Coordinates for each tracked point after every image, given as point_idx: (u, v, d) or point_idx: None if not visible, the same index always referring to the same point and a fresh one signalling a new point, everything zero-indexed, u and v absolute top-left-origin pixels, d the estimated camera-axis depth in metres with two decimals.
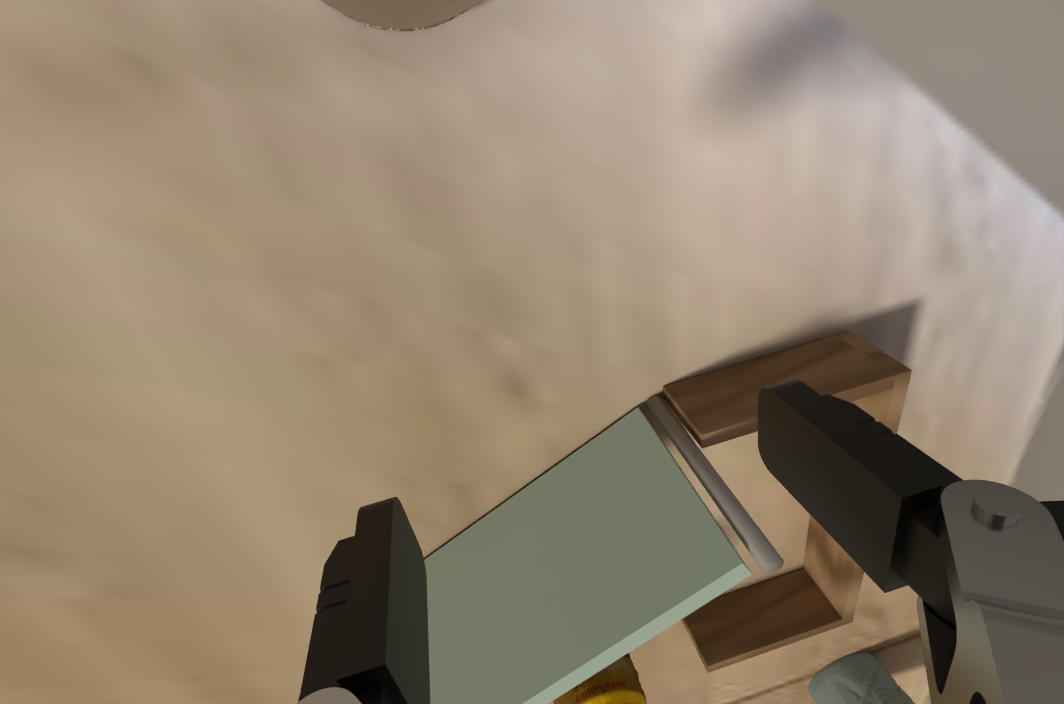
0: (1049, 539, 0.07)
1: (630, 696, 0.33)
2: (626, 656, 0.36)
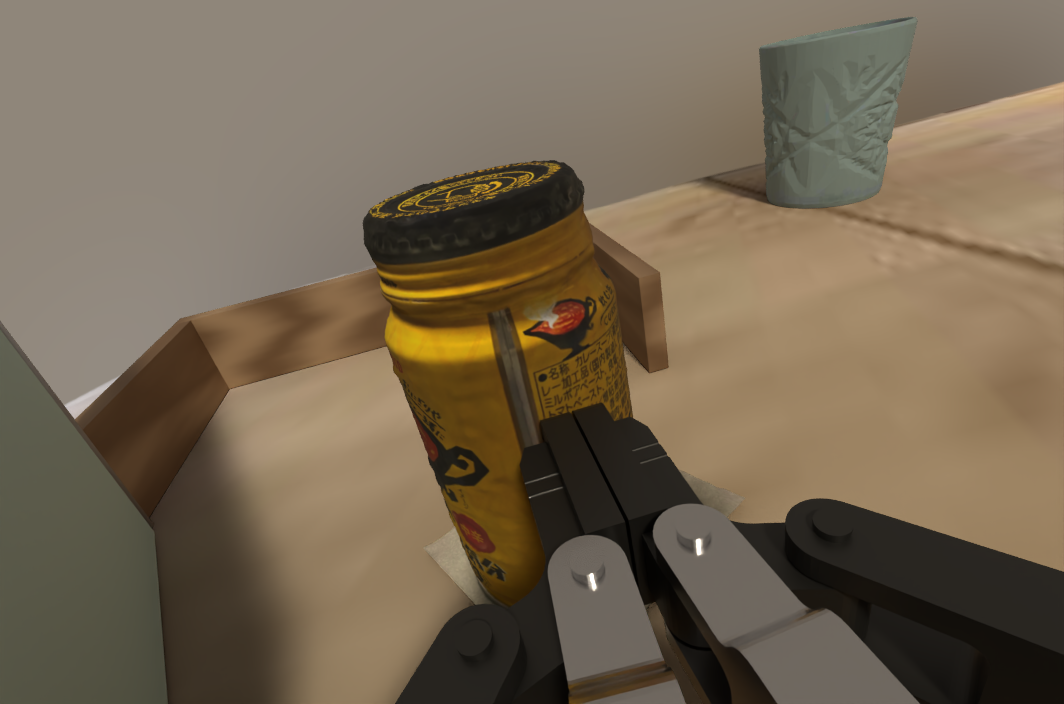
0: (721, 561, 0.07)
1: None
2: None
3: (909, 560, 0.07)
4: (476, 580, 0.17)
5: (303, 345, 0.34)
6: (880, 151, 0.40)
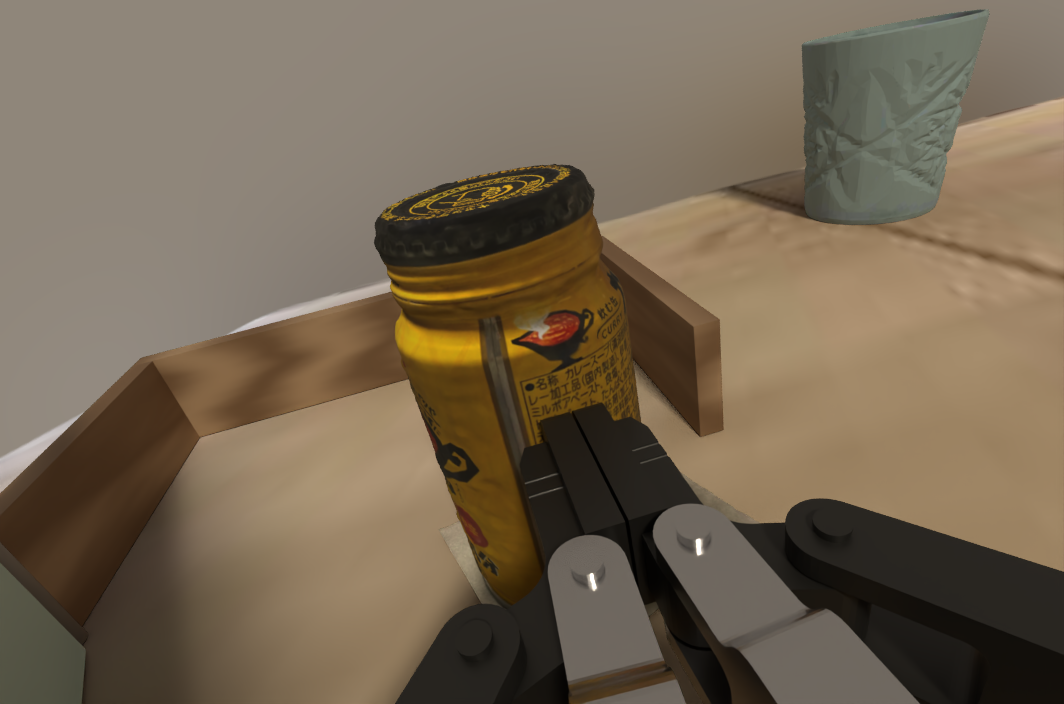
0: (721, 561, 0.07)
1: None
2: None
3: (909, 560, 0.07)
4: None
5: (286, 387, 0.29)
6: (940, 161, 0.35)
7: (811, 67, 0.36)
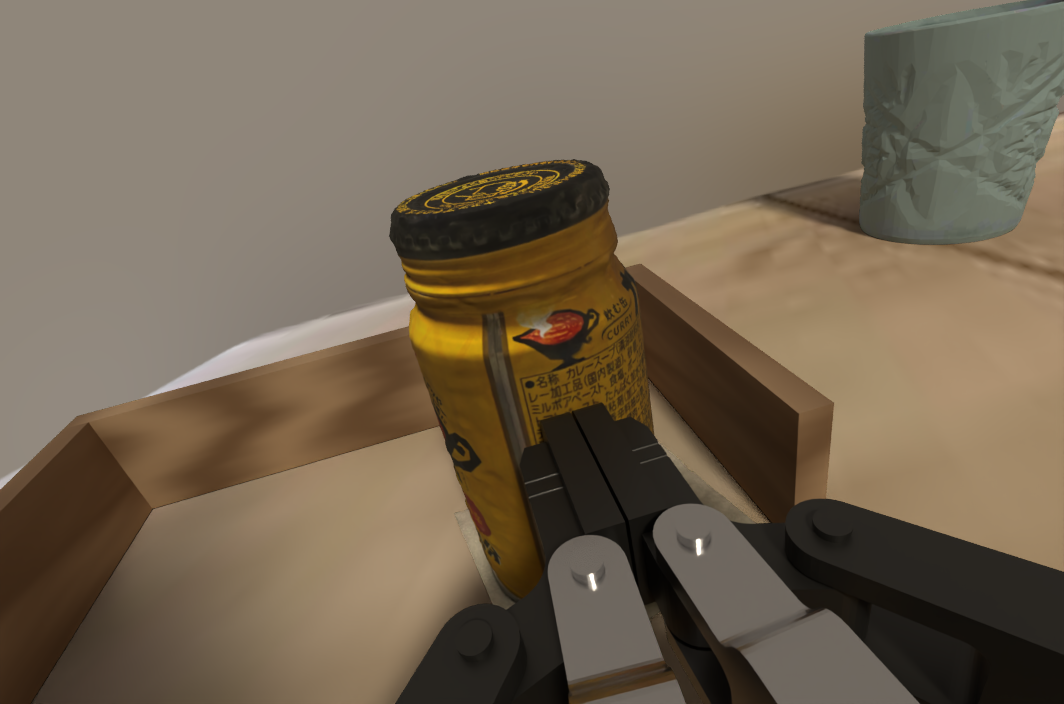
0: (721, 561, 0.07)
1: None
2: None
3: (909, 560, 0.07)
4: None
5: (257, 448, 0.24)
6: (1031, 172, 0.30)
7: (878, 61, 0.30)
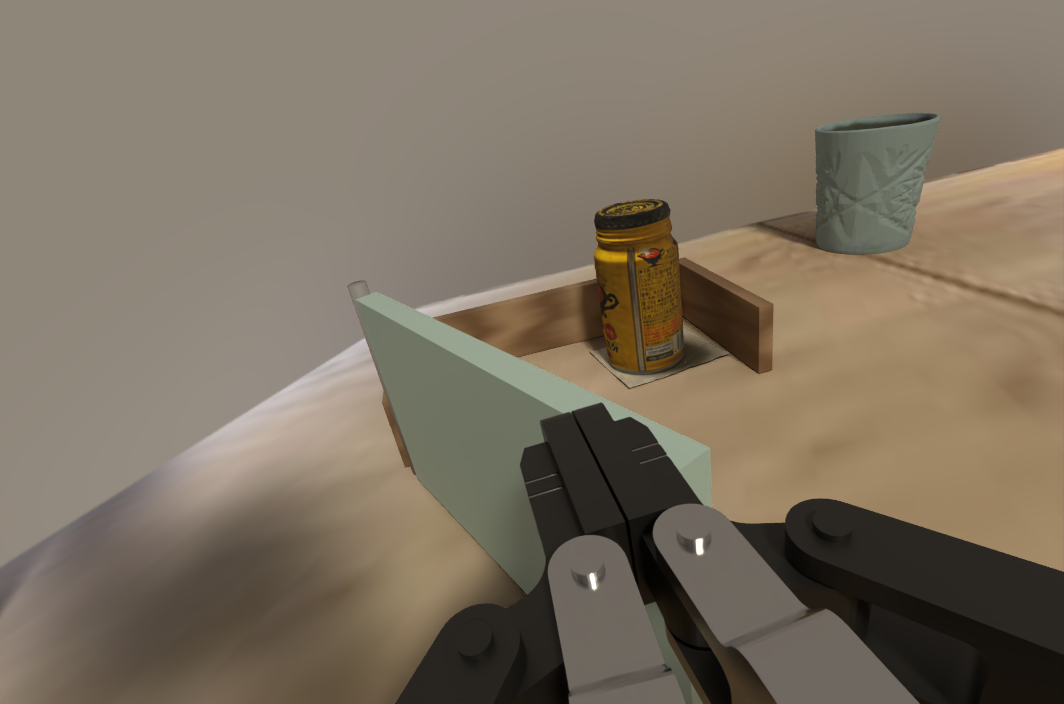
0: (721, 561, 0.07)
1: None
2: None
3: (909, 560, 0.07)
4: (608, 362, 0.42)
5: None
6: (910, 212, 0.51)
7: (822, 146, 0.52)
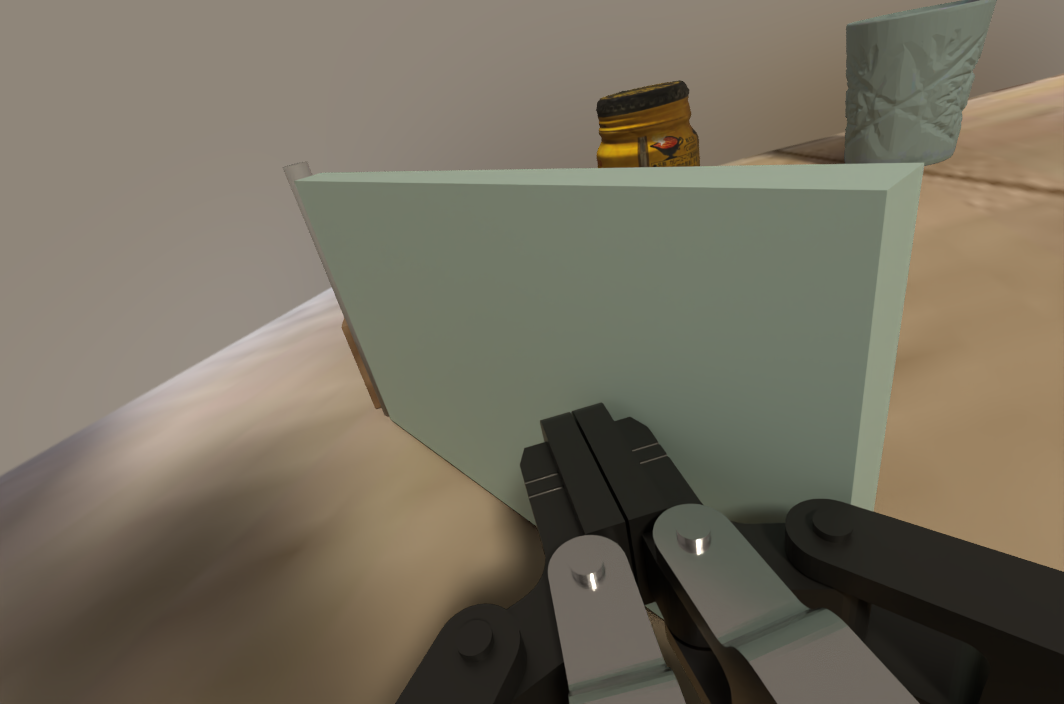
0: (721, 561, 0.07)
1: None
2: None
3: (909, 560, 0.07)
4: None
5: None
6: (957, 117, 0.44)
7: (855, 43, 0.45)
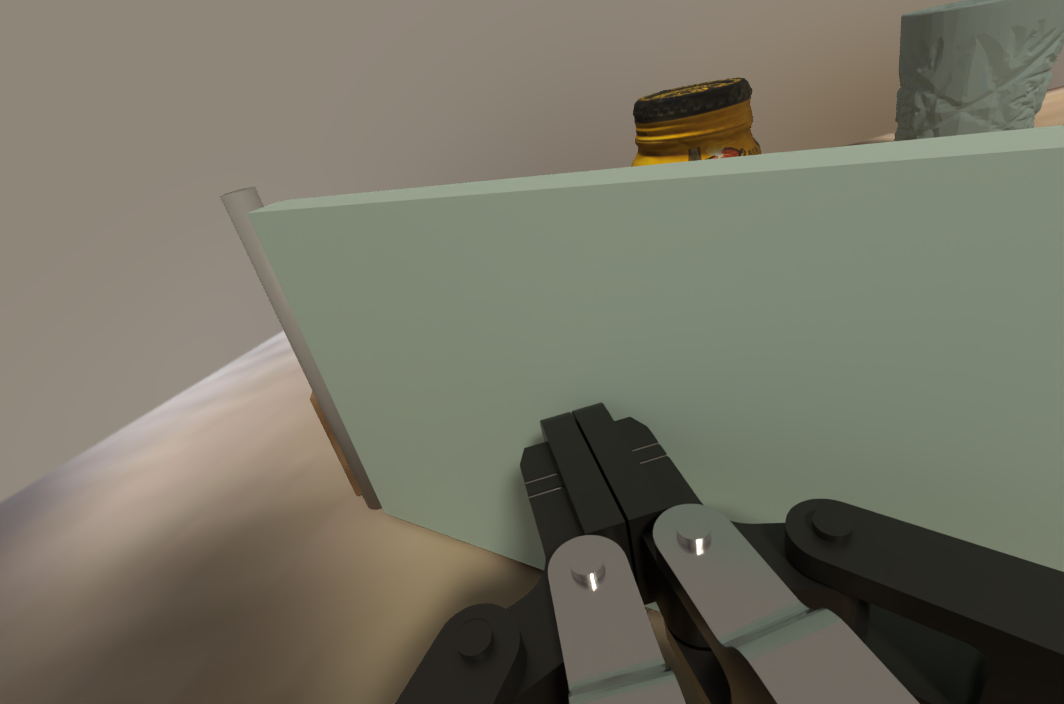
0: (721, 561, 0.07)
1: None
2: None
3: (909, 560, 0.07)
4: None
5: None
6: (1031, 121, 0.39)
7: (914, 36, 0.39)
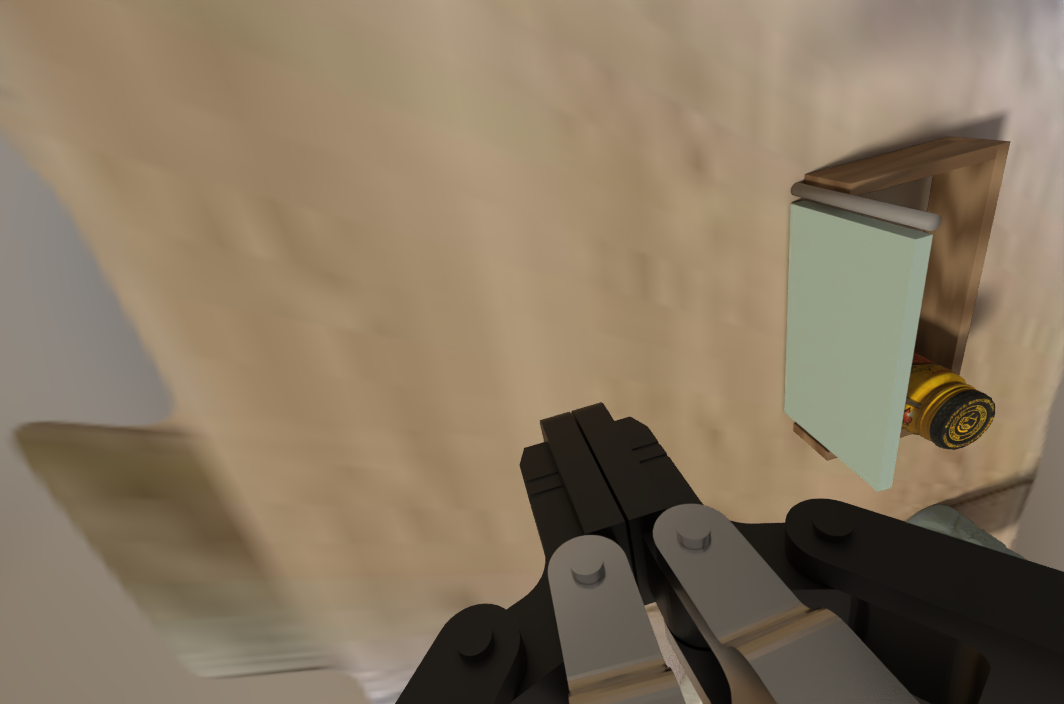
0: (721, 561, 0.07)
1: None
2: None
3: (909, 560, 0.07)
4: None
5: (941, 220, 0.45)
6: None
7: None
